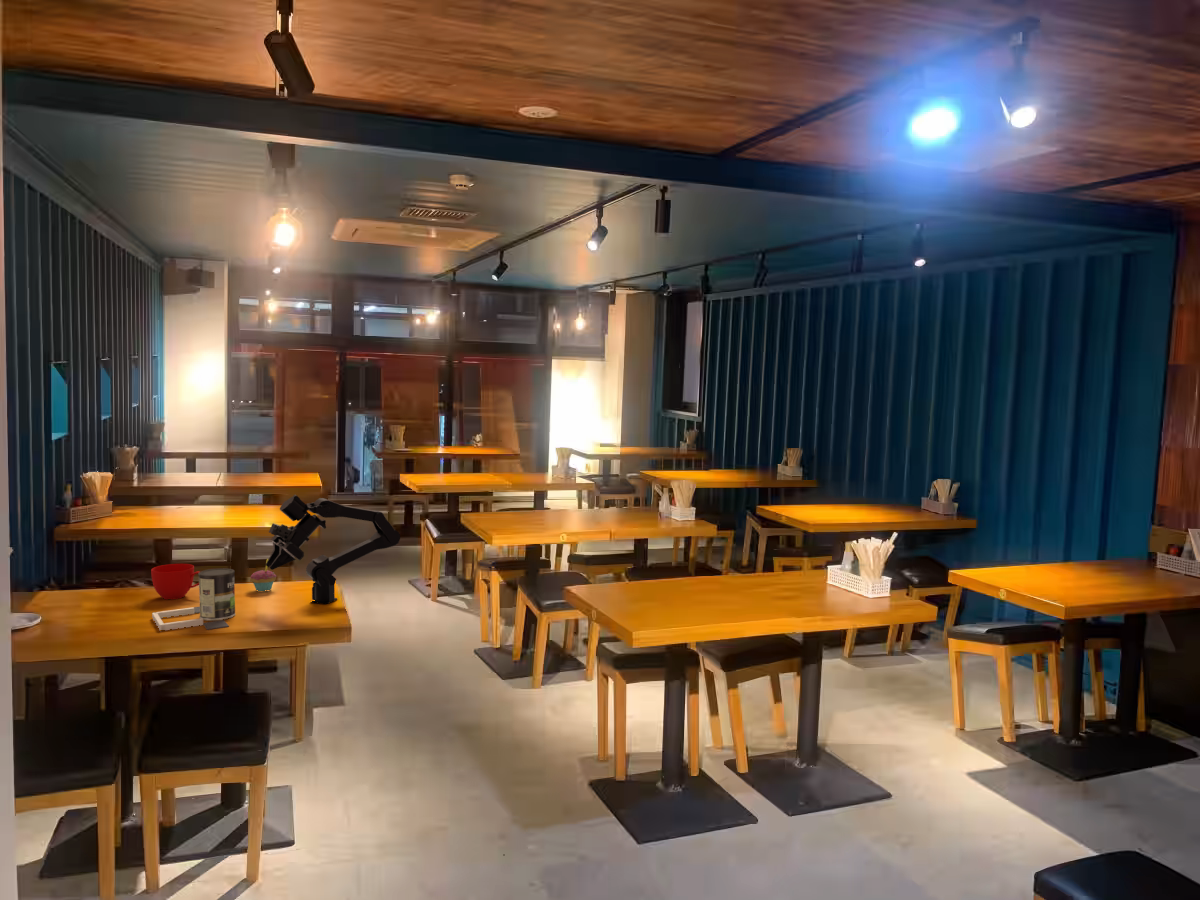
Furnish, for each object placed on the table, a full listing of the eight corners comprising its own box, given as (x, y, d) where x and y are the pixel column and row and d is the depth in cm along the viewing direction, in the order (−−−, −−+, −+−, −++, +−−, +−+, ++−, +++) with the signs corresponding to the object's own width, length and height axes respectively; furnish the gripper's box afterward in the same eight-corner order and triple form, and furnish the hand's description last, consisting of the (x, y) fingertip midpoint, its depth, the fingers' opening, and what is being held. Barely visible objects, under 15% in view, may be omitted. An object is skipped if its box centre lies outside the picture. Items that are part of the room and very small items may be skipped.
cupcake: (280, 588, 306) (280, 554, 305) (269, 594, 297) (268, 559, 296) (257, 587, 306) (256, 553, 305) (245, 593, 298) (244, 558, 297)
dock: (193, 612, 273) (193, 607, 273) (203, 624, 261) (203, 619, 260) (152, 618, 267) (152, 612, 266) (160, 631, 254) (159, 625, 254)
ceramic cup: (195, 602, 285) (194, 572, 284) (144, 601, 285) (143, 571, 284) (213, 592, 298) (212, 564, 297) (164, 591, 298) (163, 563, 297)
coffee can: (238, 611, 276) (237, 567, 275) (231, 620, 266) (230, 575, 265) (203, 612, 274) (202, 568, 273) (195, 621, 264) (194, 576, 263)
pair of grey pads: (210, 605, 281) (210, 605, 281) (228, 626, 259) (228, 625, 259) (190, 608, 278) (190, 607, 278) (207, 629, 256) (207, 628, 256)
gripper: (277, 510, 287) (242, 546, 282) (292, 518, 272) (256, 557, 266) (301, 531, 292) (268, 567, 287) (318, 540, 277) (283, 579, 272)
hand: (268, 567), depth 278 cm, fingers open, 5 cm apart
